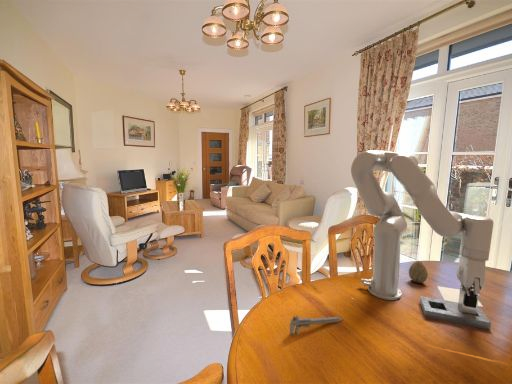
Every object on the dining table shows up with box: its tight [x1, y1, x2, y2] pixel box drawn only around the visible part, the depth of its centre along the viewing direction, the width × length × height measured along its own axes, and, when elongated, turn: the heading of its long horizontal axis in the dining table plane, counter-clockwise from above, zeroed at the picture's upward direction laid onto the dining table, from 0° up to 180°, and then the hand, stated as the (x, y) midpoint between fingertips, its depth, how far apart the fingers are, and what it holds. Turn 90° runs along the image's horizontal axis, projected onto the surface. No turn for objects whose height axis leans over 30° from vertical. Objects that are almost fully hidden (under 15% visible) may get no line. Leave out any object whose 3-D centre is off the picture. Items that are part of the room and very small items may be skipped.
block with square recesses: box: [419, 295, 492, 331], centre depth 92 cm, size 18×10×3 cm, turn 67°
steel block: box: [458, 285, 480, 316], centre depth 90 cm, size 4×4×8 cm
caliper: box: [289, 315, 343, 336], centre depth 87 cm, size 20×1×6 cm, turn 112°
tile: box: [436, 285, 484, 308], centre depth 104 cm, size 12×12×1 cm
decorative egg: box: [408, 260, 429, 284], centre depth 116 cm, size 7×7×10 cm
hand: (467, 302), depth 90 cm, fingers closed on steel block, 4 cm apart
